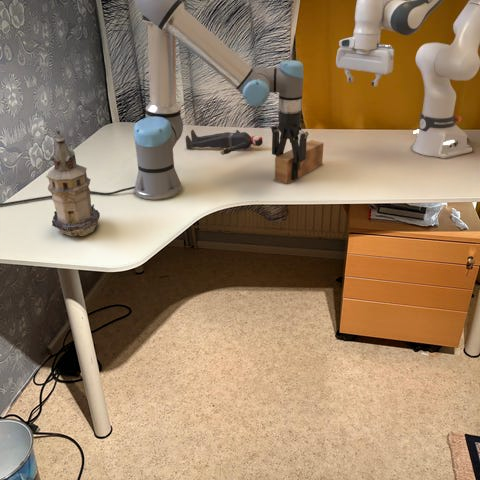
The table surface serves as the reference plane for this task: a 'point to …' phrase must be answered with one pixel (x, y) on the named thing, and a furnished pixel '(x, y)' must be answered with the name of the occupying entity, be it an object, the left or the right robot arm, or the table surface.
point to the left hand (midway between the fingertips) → (287, 176)
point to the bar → (312, 161)
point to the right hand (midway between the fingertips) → (362, 84)
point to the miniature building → (70, 193)
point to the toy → (224, 141)
